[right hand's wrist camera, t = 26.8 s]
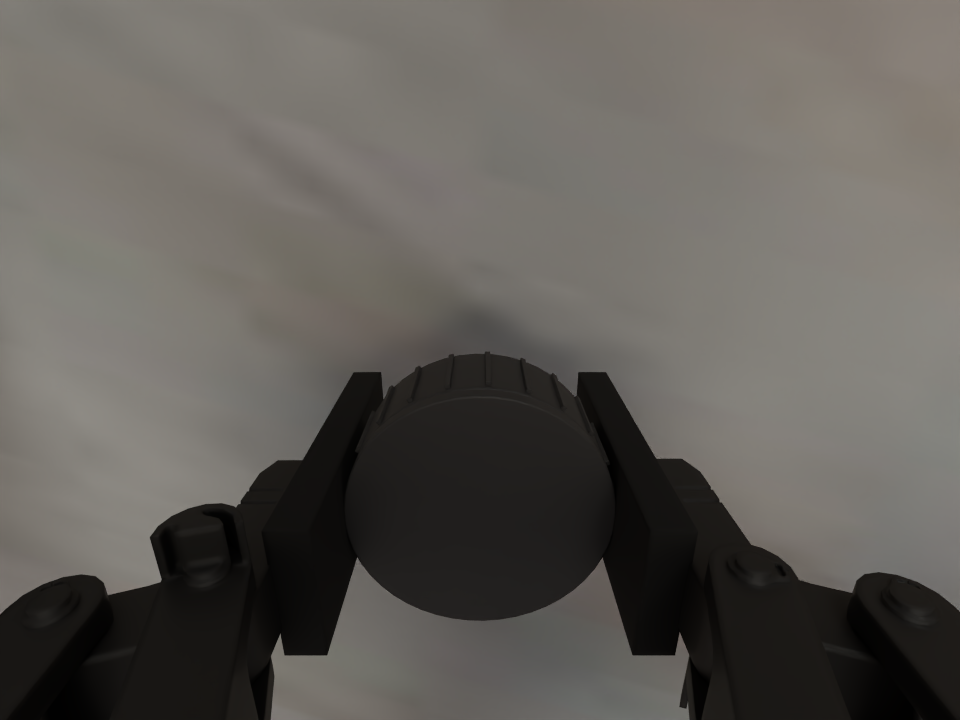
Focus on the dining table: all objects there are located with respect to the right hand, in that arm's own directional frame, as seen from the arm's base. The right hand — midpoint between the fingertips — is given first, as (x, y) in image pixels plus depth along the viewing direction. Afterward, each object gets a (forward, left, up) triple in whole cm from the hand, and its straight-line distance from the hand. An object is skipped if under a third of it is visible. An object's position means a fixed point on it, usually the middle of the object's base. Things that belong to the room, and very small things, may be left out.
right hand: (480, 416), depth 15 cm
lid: (0, 0, +4) cm, 4 cm away
